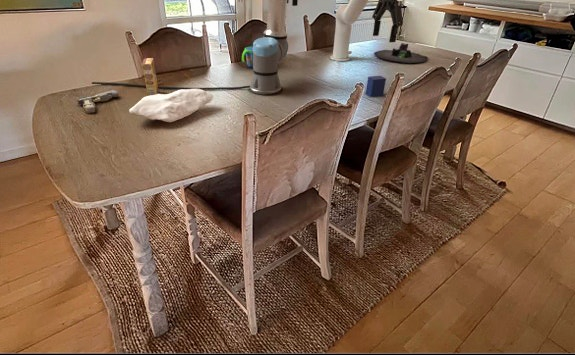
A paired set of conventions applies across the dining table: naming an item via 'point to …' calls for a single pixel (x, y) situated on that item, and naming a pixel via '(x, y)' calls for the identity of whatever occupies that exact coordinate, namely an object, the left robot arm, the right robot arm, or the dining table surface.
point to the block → (375, 86)
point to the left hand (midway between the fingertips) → (383, 38)
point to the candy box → (150, 76)
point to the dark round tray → (401, 55)
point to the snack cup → (248, 56)
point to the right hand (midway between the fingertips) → (290, 4)
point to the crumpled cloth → (171, 104)
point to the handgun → (95, 100)
